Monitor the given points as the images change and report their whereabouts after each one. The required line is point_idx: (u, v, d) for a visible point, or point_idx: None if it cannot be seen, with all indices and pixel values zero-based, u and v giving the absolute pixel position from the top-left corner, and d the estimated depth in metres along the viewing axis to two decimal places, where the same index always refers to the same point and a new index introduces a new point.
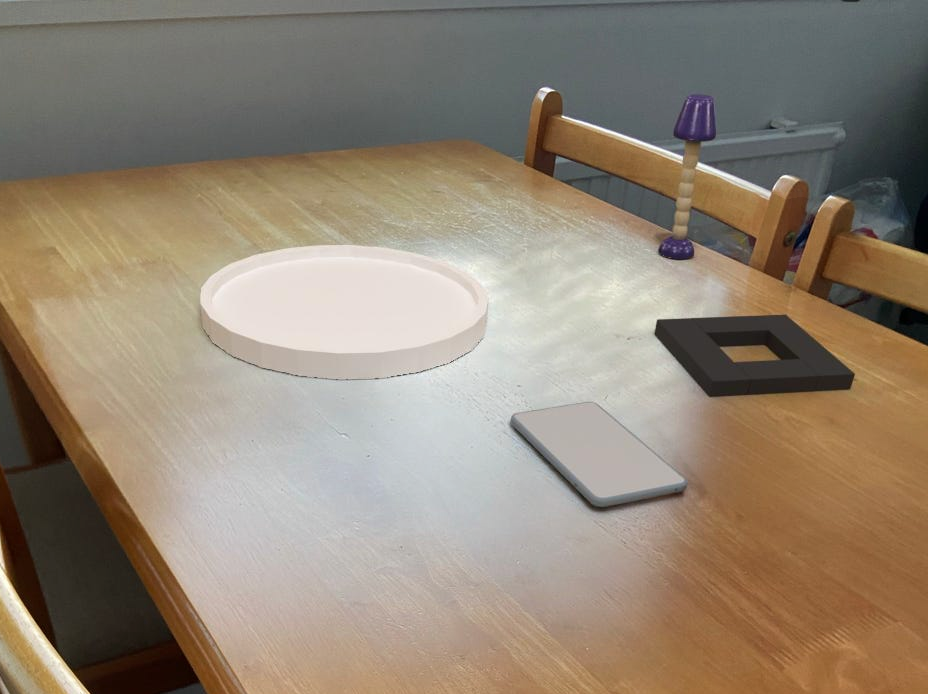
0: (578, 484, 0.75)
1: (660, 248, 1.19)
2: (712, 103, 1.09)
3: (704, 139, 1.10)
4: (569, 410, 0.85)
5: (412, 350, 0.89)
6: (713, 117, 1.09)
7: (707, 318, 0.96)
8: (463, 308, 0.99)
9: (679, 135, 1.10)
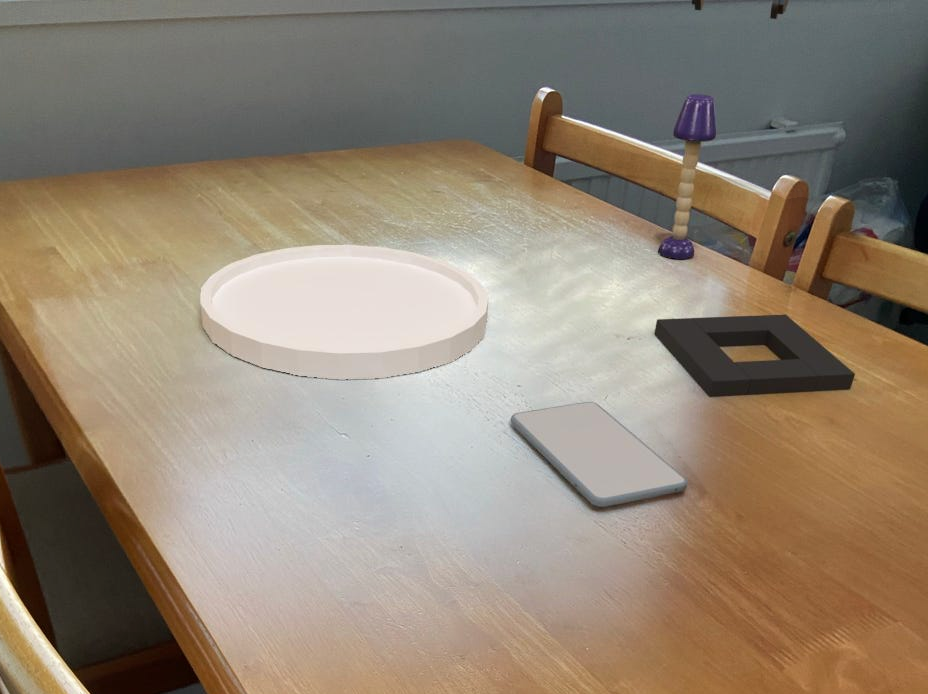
0: (578, 484, 0.75)
1: (660, 248, 1.19)
2: (712, 103, 1.09)
3: (704, 139, 1.10)
4: (569, 410, 0.85)
5: (412, 350, 0.89)
6: (713, 117, 1.09)
7: (707, 318, 0.96)
8: (463, 308, 0.99)
9: (679, 135, 1.10)
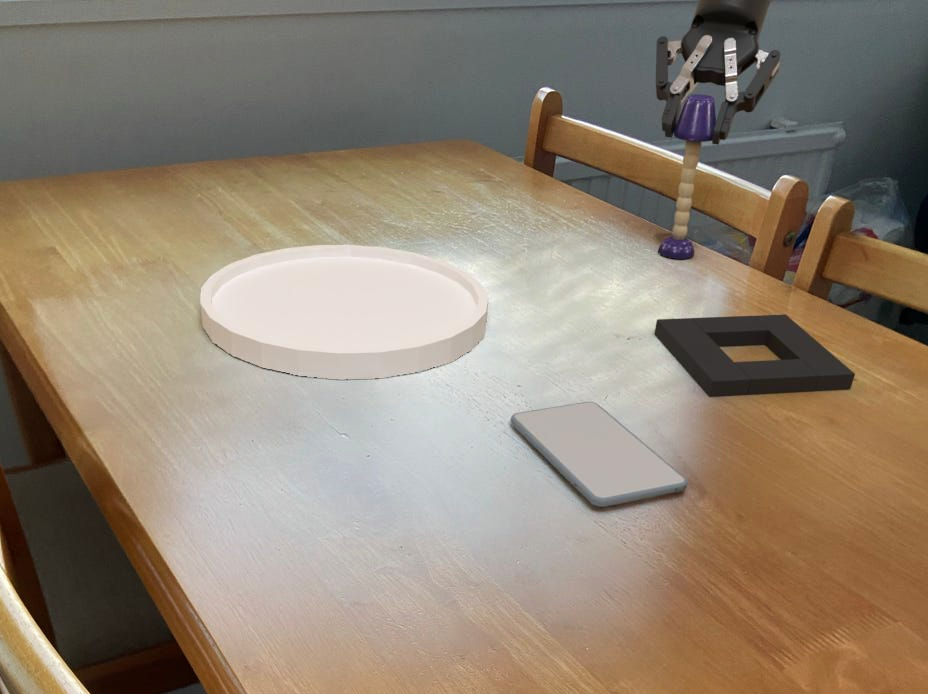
0: (578, 484, 0.75)
1: (660, 248, 1.19)
2: (713, 103, 1.08)
3: (704, 139, 1.10)
4: (569, 410, 0.85)
5: (412, 350, 0.89)
6: (714, 117, 1.09)
7: (707, 318, 0.96)
8: (463, 308, 0.99)
9: (679, 135, 1.10)
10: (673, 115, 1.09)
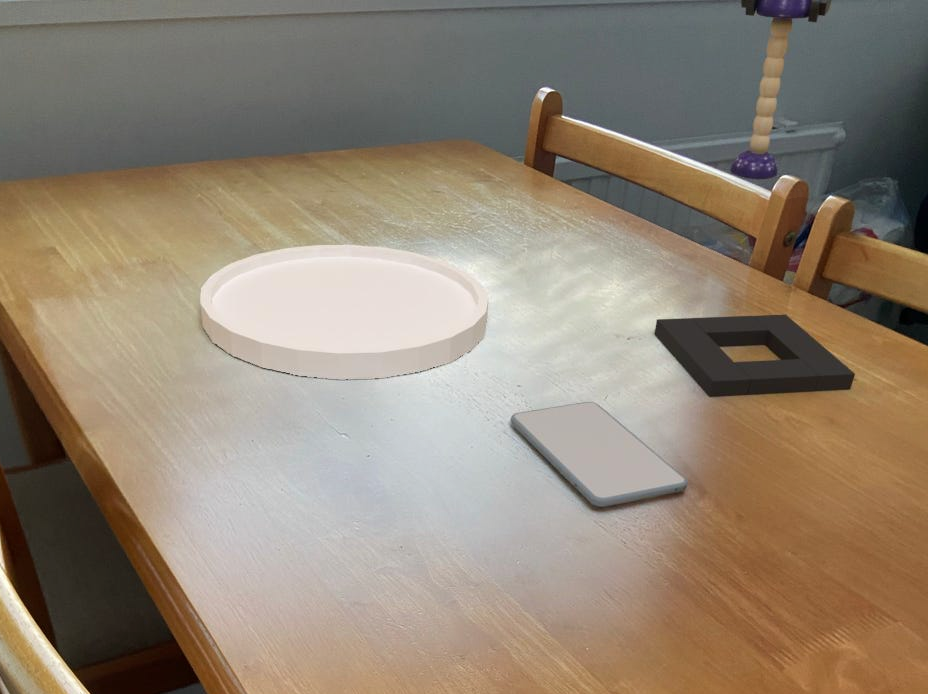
0: (578, 484, 0.75)
1: (734, 166, 0.93)
2: None
3: (798, 15, 0.84)
4: (569, 410, 0.85)
5: (412, 350, 0.89)
6: None
7: (707, 318, 0.96)
8: (463, 308, 0.99)
9: (765, 11, 0.85)
10: None
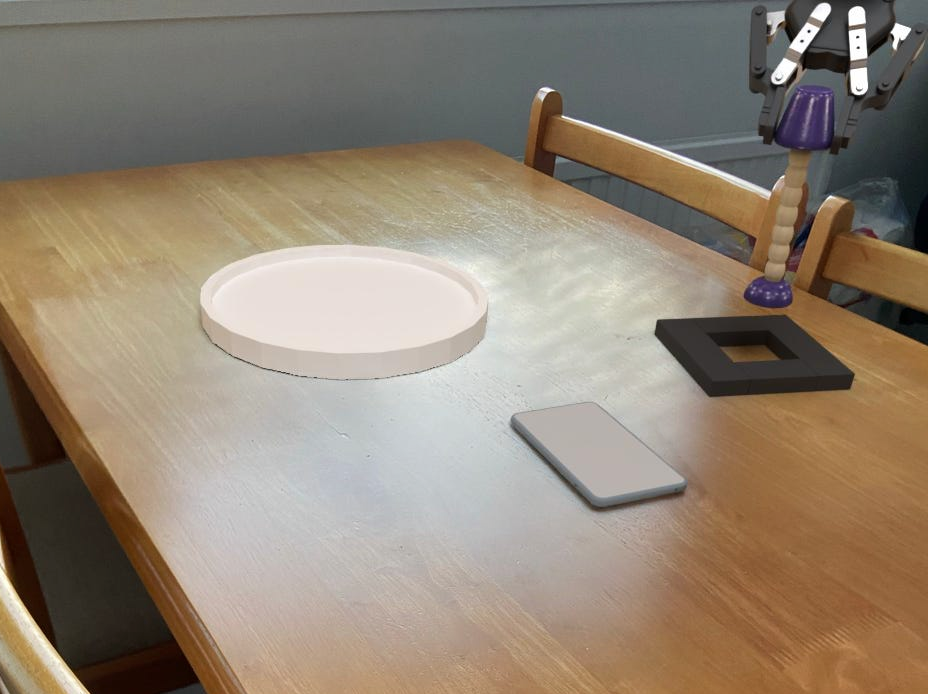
0: (578, 484, 0.75)
1: (747, 293, 0.88)
2: (832, 98, 0.78)
3: (819, 148, 0.79)
4: (569, 410, 0.85)
5: (412, 350, 0.89)
6: (833, 117, 0.79)
7: (707, 318, 0.96)
8: (463, 308, 0.99)
9: (784, 142, 0.80)
10: (776, 114, 0.79)
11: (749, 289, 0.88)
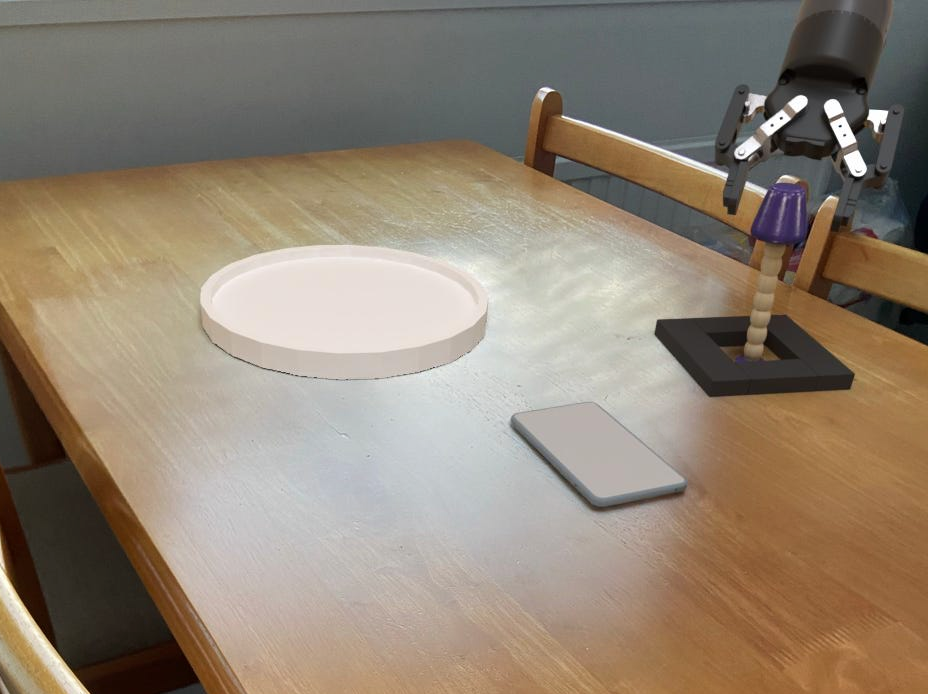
0: (578, 484, 0.75)
1: None
2: (804, 196, 0.83)
3: (792, 241, 0.84)
4: (569, 410, 0.85)
5: (412, 350, 0.89)
6: (805, 213, 0.83)
7: (707, 318, 0.96)
8: (463, 308, 0.99)
9: (759, 235, 0.84)
10: (739, 188, 0.84)
11: None
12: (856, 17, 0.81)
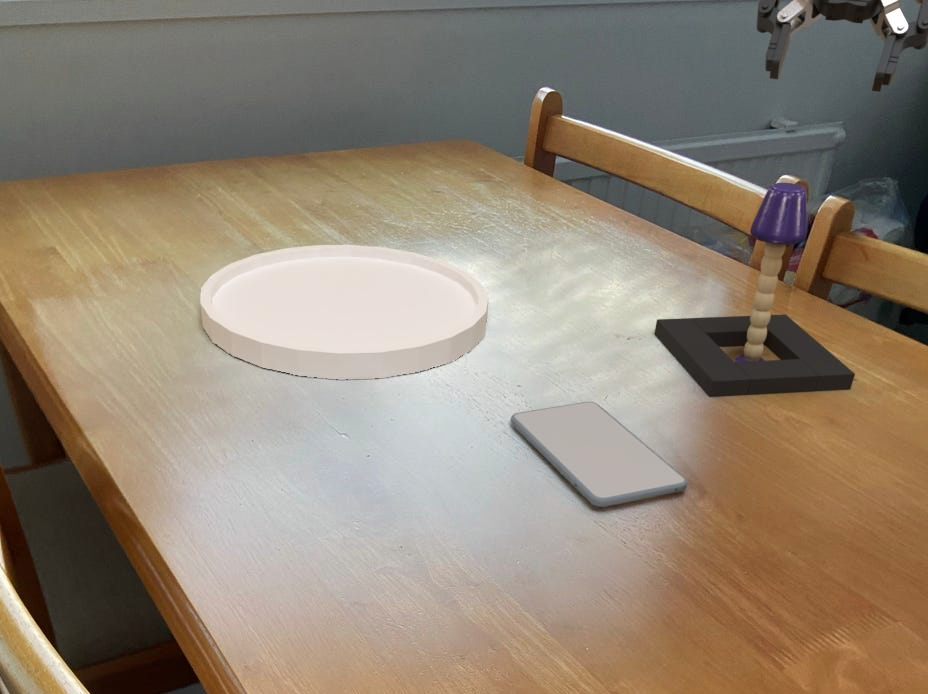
0: (578, 484, 0.75)
1: None
2: (804, 196, 0.83)
3: (792, 241, 0.84)
4: (569, 410, 0.85)
5: (412, 350, 0.89)
6: (805, 213, 0.83)
7: (707, 318, 0.96)
8: (463, 308, 0.99)
9: (759, 235, 0.84)
10: (782, 49, 0.85)
11: None
12: None
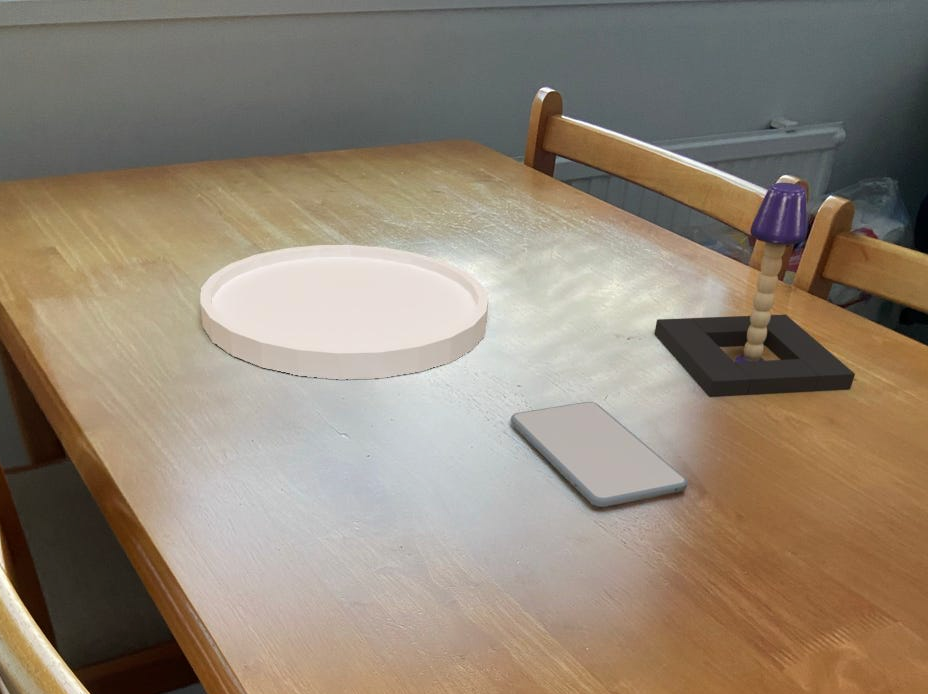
0: (578, 484, 0.75)
1: None
2: (804, 196, 0.83)
3: (792, 241, 0.84)
4: (569, 410, 0.85)
5: (412, 350, 0.89)
6: (805, 213, 0.83)
7: (707, 318, 0.96)
8: (463, 308, 0.99)
9: (759, 235, 0.84)
10: None
11: None
12: None
